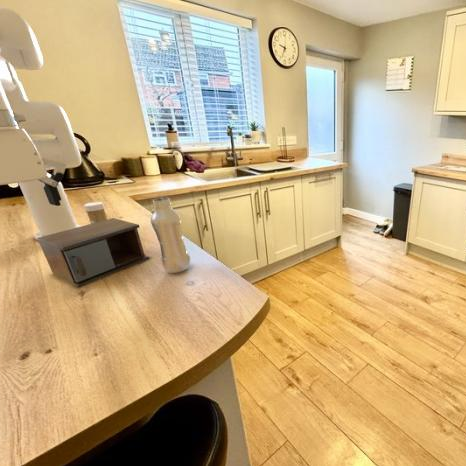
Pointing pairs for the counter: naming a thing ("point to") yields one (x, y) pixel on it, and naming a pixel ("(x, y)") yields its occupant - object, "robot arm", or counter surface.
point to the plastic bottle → (169, 236)
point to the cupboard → (113, 230)
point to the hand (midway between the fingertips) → (25, 210)
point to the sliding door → (89, 260)
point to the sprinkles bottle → (95, 212)
